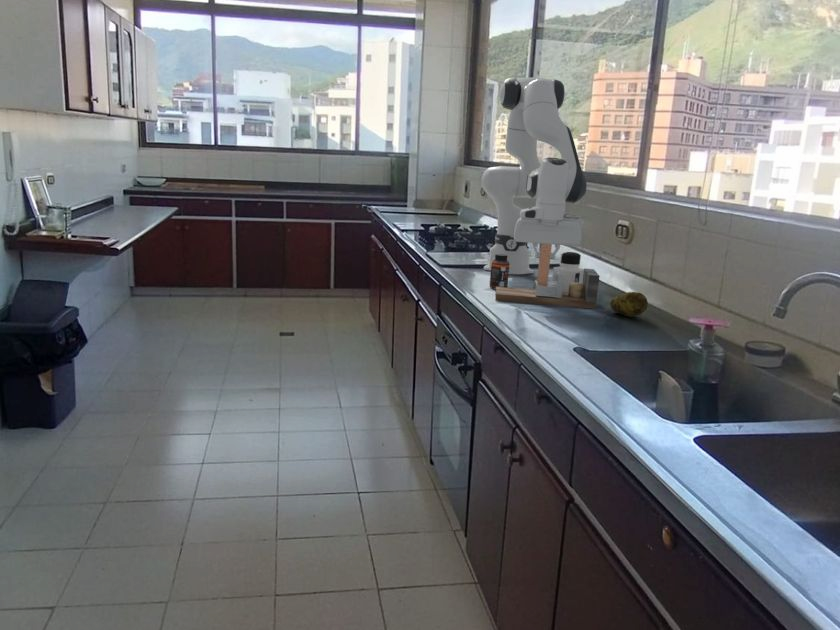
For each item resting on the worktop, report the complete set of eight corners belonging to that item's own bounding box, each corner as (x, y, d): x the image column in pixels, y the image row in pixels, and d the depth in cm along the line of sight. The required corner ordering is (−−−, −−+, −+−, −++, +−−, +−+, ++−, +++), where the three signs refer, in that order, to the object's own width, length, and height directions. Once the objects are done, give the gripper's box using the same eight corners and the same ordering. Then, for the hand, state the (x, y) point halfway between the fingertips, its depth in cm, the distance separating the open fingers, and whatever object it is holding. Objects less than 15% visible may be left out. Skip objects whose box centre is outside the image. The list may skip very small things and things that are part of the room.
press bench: (495, 292, 217) (498, 261, 214) (589, 300, 214) (593, 269, 212) (495, 300, 205) (498, 268, 203) (595, 308, 203) (599, 275, 200)
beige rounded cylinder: (567, 294, 211) (568, 282, 210) (581, 295, 210) (583, 283, 209) (568, 297, 206) (570, 284, 205) (583, 298, 206) (585, 285, 205)
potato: (634, 312, 200) (638, 286, 199) (648, 323, 188) (652, 295, 186) (607, 311, 200) (610, 284, 198) (619, 321, 188) (622, 293, 186)
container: (582, 291, 228) (587, 253, 224) (570, 294, 222) (575, 255, 219) (562, 287, 233) (566, 250, 229) (550, 289, 227) (554, 251, 224)
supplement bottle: (506, 290, 221) (509, 256, 218) (488, 288, 222) (491, 254, 219) (507, 287, 227) (511, 254, 224) (490, 285, 228) (493, 252, 225)
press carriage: (533, 288, 215) (539, 235, 211) (557, 290, 215) (563, 237, 210) (535, 296, 204) (541, 240, 200) (561, 298, 203) (567, 242, 199)
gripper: (583, 214, 205) (577, 259, 209) (515, 209, 207) (511, 254, 211) (585, 216, 199) (580, 262, 203) (516, 211, 201) (512, 257, 205)
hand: (544, 258), depth 207 cm, fingers closed on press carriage, 3 cm apart
